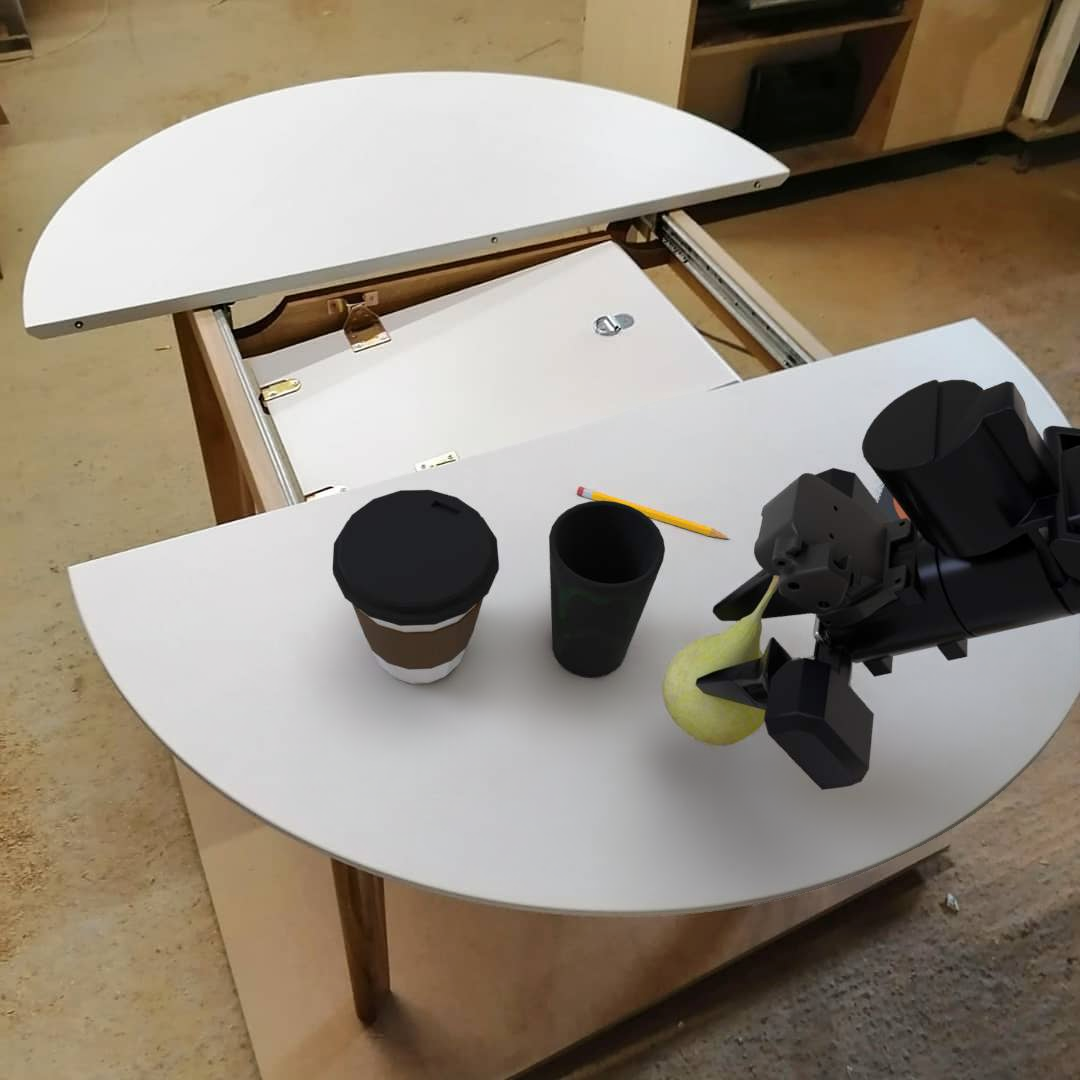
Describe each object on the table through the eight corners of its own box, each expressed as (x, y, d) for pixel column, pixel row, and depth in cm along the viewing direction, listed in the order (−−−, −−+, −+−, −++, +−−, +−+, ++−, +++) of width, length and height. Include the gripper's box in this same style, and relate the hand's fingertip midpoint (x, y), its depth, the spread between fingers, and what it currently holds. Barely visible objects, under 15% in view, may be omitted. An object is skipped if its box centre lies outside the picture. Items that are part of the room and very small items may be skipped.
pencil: (579, 490, 86) (579, 484, 86) (731, 538, 84) (732, 532, 83) (576, 496, 86) (576, 490, 85) (728, 544, 83) (730, 539, 83)
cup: (641, 612, 78) (666, 506, 69) (638, 696, 73) (664, 594, 64) (542, 600, 78) (554, 493, 69) (532, 683, 73) (543, 579, 64)
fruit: (637, 726, 65) (663, 619, 55) (696, 648, 69) (729, 536, 59) (728, 784, 62) (771, 682, 53) (783, 699, 66) (832, 591, 57)
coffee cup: (399, 570, 79) (392, 461, 70) (521, 629, 76) (530, 523, 67) (314, 670, 72) (294, 564, 63) (443, 739, 69) (442, 638, 60)
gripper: (895, 357, 53) (662, 457, 63) (868, 626, 41) (586, 697, 51) (989, 496, 58) (758, 568, 68) (988, 773, 46) (709, 812, 56)
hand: (708, 649), depth 61 cm, fingers closed on fruit, 5 cm apart
